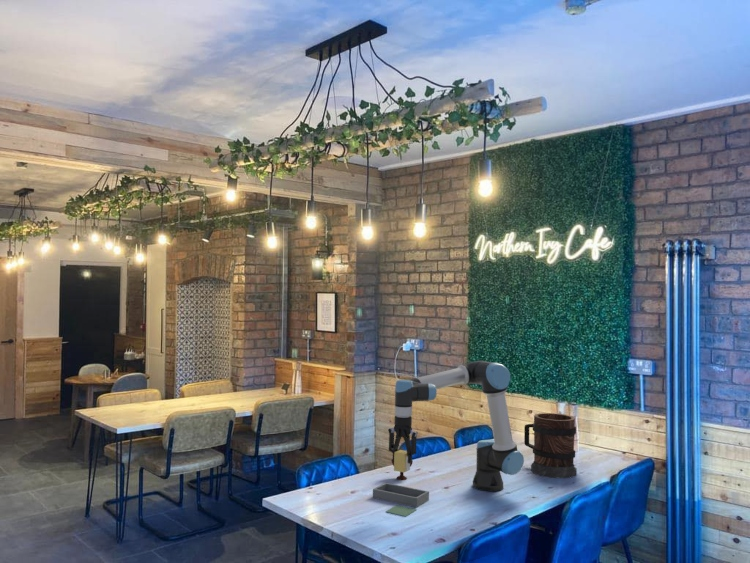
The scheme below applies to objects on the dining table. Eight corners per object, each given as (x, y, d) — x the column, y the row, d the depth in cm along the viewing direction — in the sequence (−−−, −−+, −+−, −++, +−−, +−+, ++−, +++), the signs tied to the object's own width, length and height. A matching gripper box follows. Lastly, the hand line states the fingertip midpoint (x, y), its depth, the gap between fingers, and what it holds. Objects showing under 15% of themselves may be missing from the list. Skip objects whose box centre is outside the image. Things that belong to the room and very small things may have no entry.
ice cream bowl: (387, 479, 317) (388, 450, 317) (397, 474, 327) (397, 445, 327) (406, 483, 312) (407, 453, 312) (415, 477, 322) (416, 448, 322)
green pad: (416, 511, 271) (416, 509, 271) (405, 517, 262) (405, 516, 262) (396, 506, 276) (396, 504, 276) (385, 513, 268) (385, 511, 268)
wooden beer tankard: (562, 480, 322) (563, 423, 323) (513, 468, 343) (514, 414, 344) (584, 472, 339) (584, 417, 339) (536, 461, 360) (537, 409, 360)
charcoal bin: (428, 501, 285) (429, 491, 285) (416, 508, 274) (417, 498, 274) (385, 492, 296) (385, 482, 297) (372, 498, 286) (372, 489, 286)
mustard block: (409, 469, 270) (410, 451, 271) (404, 472, 266) (404, 453, 266) (399, 468, 273) (400, 449, 273) (394, 470, 269) (394, 452, 269)
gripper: (425, 417, 269) (424, 470, 268) (389, 412, 278) (388, 464, 278) (417, 419, 262) (416, 474, 262) (381, 414, 272) (379, 467, 271)
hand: (401, 469), depth 270 cm, fingers closed on mustard block, 5 cm apart
